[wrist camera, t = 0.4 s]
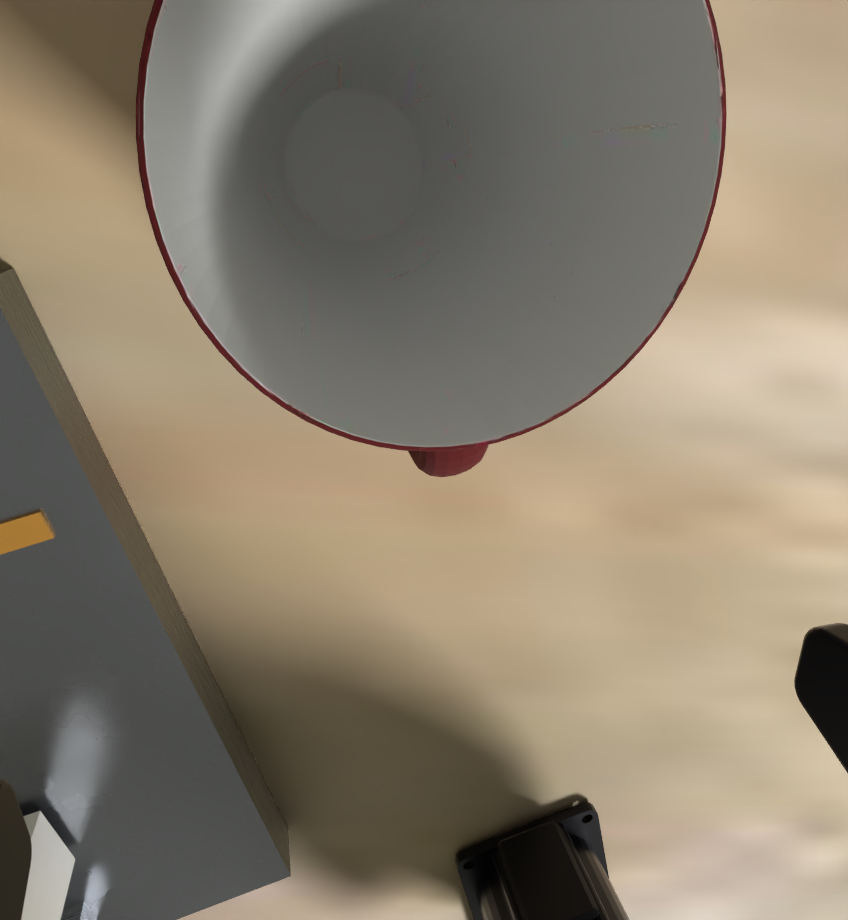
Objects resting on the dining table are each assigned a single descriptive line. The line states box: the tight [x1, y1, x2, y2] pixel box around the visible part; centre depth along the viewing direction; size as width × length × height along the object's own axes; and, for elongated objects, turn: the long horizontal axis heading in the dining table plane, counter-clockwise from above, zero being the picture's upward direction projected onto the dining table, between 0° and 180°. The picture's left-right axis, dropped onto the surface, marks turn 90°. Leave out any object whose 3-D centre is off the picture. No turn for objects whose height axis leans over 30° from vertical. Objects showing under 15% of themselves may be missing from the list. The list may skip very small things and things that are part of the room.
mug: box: [136, 0, 726, 477], centre depth 14 cm, size 11×8×10 cm
